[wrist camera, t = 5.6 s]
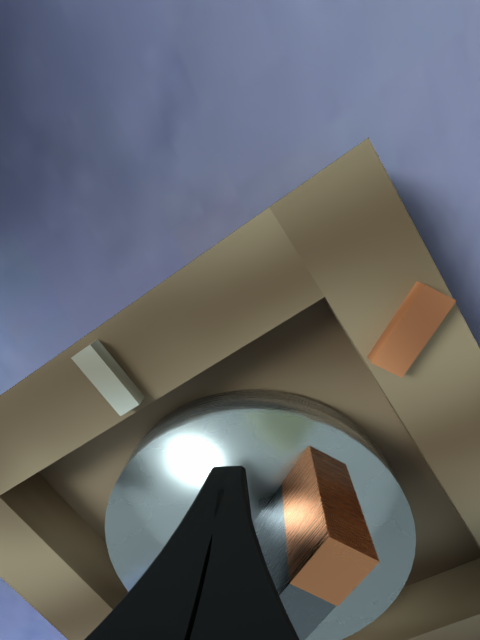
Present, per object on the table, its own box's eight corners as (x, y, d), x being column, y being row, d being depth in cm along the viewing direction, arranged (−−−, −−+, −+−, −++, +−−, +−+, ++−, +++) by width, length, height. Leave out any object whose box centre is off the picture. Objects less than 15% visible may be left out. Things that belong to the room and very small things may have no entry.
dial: (301, 645, 16) (318, 822, 12) (82, 545, 15) (0, 692, 11) (460, 476, 13) (573, 623, 8) (195, 335, 12) (152, 411, 7)
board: (558, 550, 16) (639, 640, 12) (207, 681, 20) (196, 776, 16) (341, 158, 12) (374, 132, 8) (-43, 427, 16) (-126, 483, 12)
